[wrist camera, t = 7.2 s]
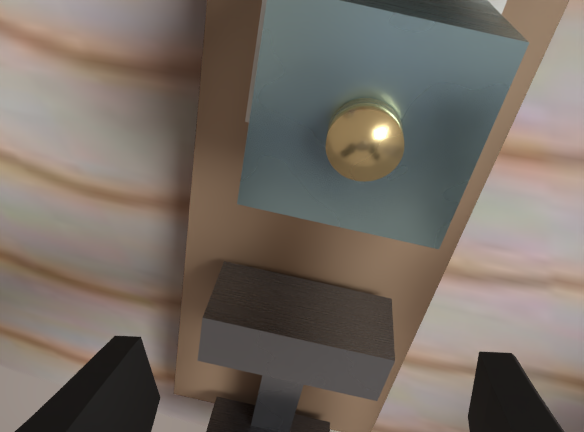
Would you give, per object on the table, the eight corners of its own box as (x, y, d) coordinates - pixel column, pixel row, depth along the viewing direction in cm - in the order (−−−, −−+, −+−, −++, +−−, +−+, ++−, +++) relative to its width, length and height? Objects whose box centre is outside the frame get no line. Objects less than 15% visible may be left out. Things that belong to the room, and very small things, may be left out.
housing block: (476, -11, 13) (539, 52, 8) (419, 148, 15) (442, 266, 10) (302, -50, 13) (263, -10, 8) (273, 115, 15) (230, 219, 10)
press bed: (647, -231, 11) (783, -285, 8) (368, 409, 24) (368, 504, 21) (250, -319, 11) (193, -417, 8) (183, 367, 24) (150, 455, 21)
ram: (391, 298, 18) (395, 366, 15) (333, 444, 23) (329, 512, 20) (224, 261, 18) (200, 322, 15) (202, 414, 23) (182, 479, 20)
